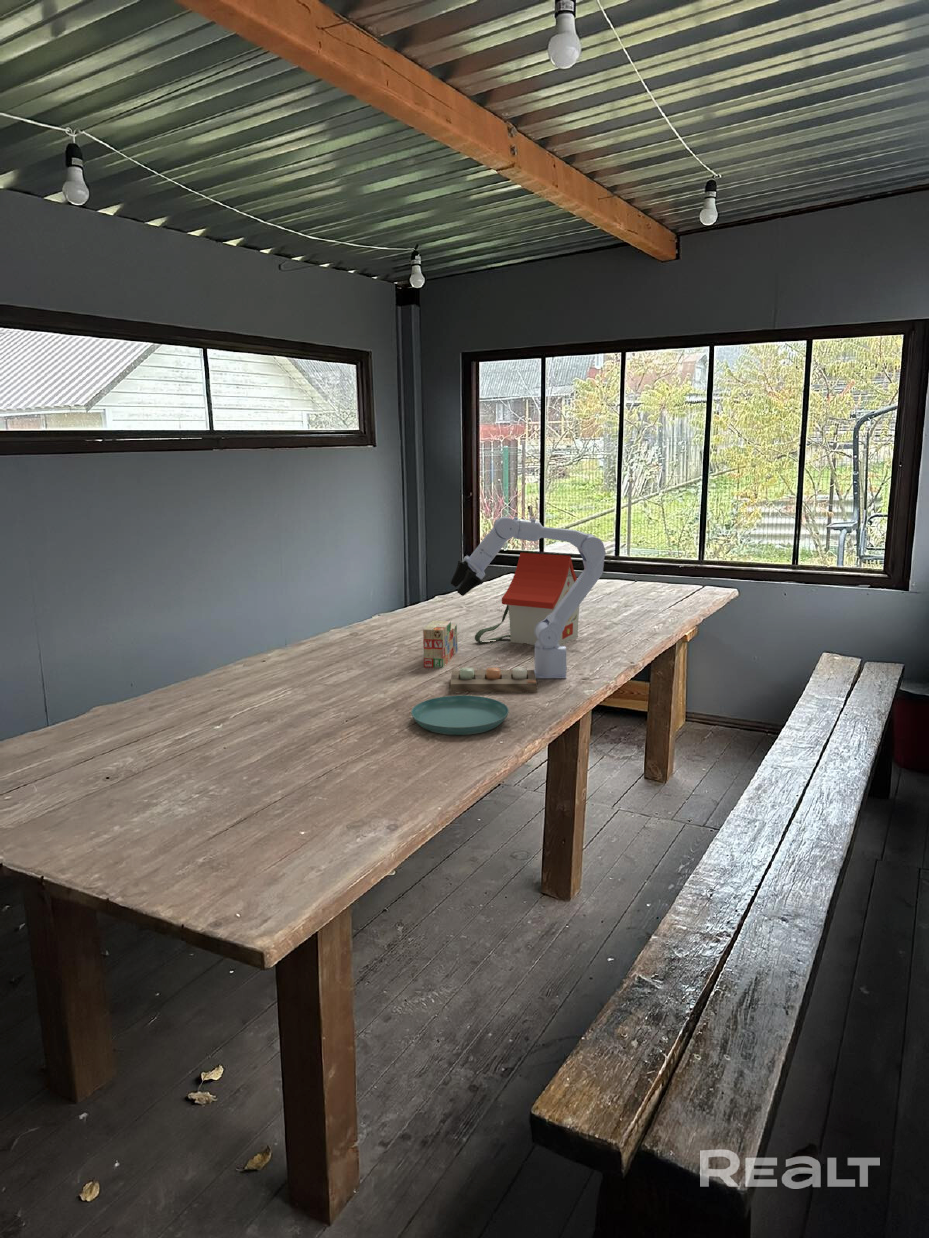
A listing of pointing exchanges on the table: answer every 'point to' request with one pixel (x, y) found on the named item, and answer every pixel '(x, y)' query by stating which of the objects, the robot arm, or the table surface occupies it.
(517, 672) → the cream button
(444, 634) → the stack of blocks
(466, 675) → the sage button
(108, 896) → the table surface
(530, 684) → the panel
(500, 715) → the saucer
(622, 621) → the table surface
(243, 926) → the table surface
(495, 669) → the terracotta button
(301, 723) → the table surface
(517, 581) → the birdhouse
